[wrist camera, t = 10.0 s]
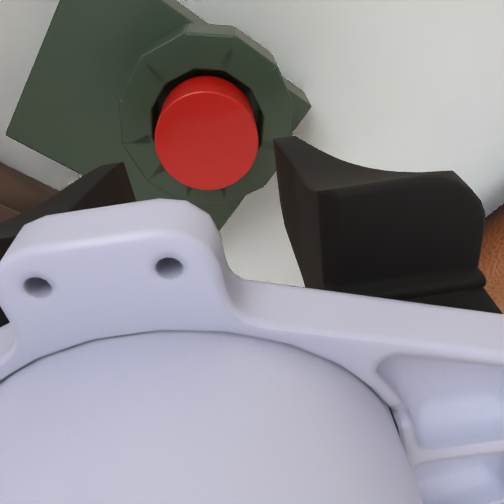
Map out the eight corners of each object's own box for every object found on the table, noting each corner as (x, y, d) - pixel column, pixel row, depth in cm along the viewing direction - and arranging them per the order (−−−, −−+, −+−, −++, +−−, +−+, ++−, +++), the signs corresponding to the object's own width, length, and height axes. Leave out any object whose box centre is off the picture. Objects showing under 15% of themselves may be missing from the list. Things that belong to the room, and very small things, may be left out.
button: (143, 136, 18) (135, 158, 16) (190, 54, 16) (187, 68, 15) (222, 182, 19) (222, 206, 18) (273, 110, 18) (279, 129, 16)
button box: (21, 119, 21) (-16, 154, 18) (103, -78, 17) (76, -80, 14) (211, 221, 25) (210, 266, 21) (315, 78, 21) (333, 106, 17)
